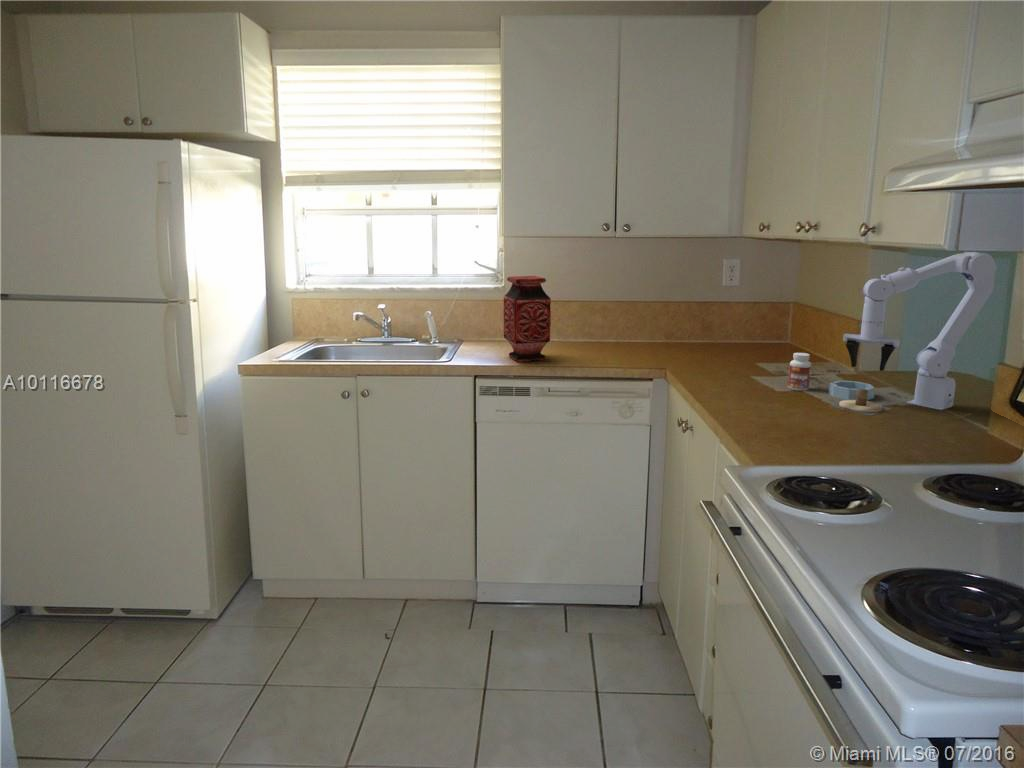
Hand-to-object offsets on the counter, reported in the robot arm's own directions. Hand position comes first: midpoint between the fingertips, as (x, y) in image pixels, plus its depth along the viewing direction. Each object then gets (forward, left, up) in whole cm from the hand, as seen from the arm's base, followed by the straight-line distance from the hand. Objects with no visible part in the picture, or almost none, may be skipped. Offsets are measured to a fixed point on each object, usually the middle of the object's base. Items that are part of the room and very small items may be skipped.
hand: (867, 368), depth 213 cm
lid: (-4, +9, -10) cm, 13 cm away
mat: (-4, +9, -10) cm, 14 cm away
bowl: (+5, -2, -10) cm, 12 cm away
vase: (+107, +42, -10) cm, 116 cm away
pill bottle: (+20, +2, -10) cm, 23 cm away
